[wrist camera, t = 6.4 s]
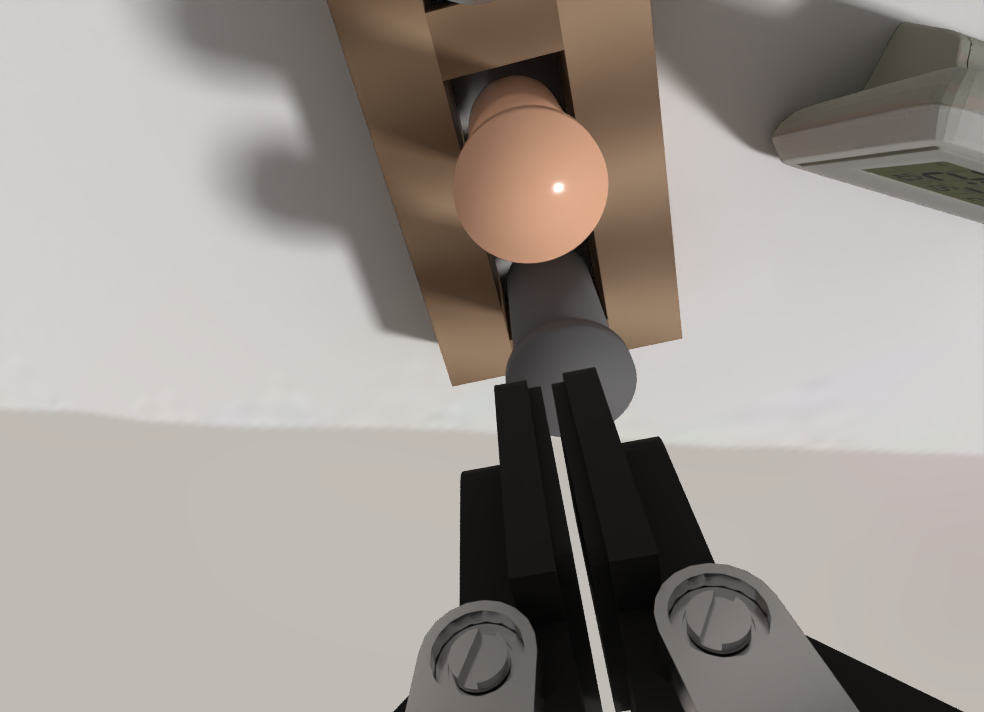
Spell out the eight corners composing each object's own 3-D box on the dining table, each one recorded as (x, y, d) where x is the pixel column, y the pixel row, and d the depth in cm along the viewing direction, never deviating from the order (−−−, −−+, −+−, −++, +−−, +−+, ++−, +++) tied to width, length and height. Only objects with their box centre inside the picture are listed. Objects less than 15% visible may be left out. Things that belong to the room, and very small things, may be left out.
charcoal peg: (488, 247, 31) (493, 345, 23) (589, 224, 30) (628, 316, 23) (510, 333, 33) (521, 447, 26) (604, 313, 33) (643, 423, 25)
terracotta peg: (446, 81, 27) (434, 132, 19) (560, 51, 26) (595, 92, 19) (474, 192, 29) (474, 277, 22) (579, 167, 29) (618, 245, 21)
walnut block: (293, -170, 25) (265, -189, 22) (600, -265, 24) (621, -300, 21) (454, 347, 38) (452, 386, 34) (662, 302, 36) (682, 338, 33)
